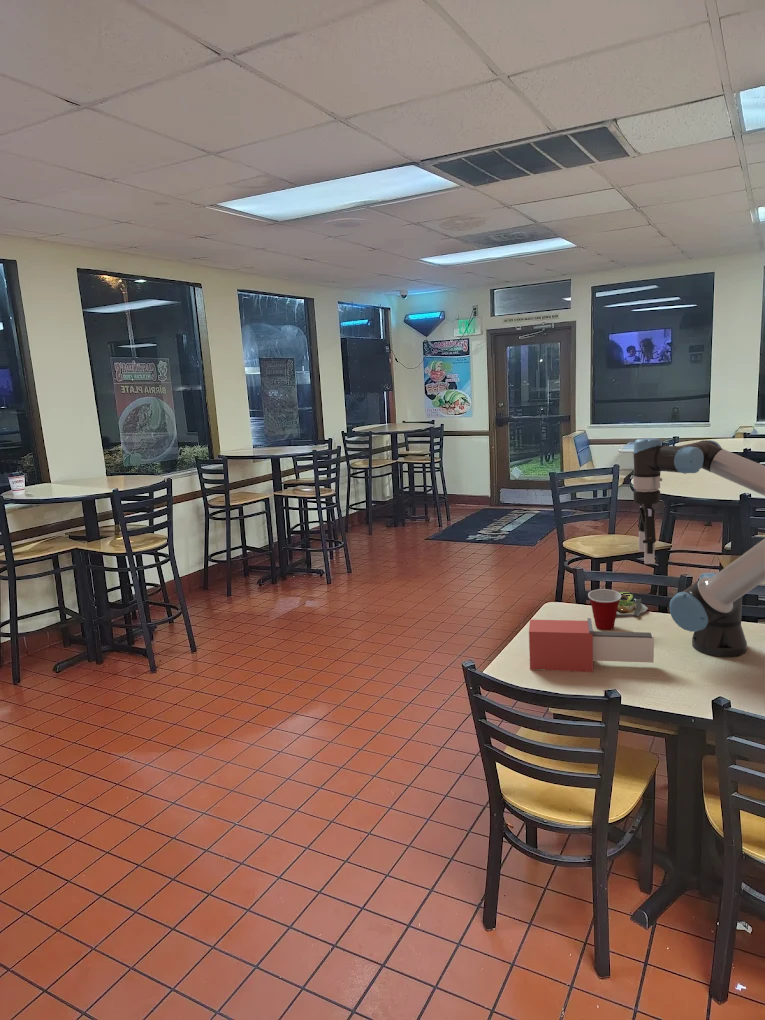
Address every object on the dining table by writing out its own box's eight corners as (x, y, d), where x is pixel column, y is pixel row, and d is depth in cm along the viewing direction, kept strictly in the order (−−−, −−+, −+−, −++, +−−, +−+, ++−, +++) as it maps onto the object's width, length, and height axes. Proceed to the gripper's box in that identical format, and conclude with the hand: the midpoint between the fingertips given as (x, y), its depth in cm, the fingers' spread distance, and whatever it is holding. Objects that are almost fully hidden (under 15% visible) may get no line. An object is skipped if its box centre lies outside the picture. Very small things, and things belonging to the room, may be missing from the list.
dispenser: (530, 669, 201) (528, 629, 199) (530, 655, 211) (529, 616, 209) (593, 672, 197) (592, 630, 194) (591, 657, 207) (590, 618, 204)
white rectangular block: (589, 660, 200) (588, 635, 198) (588, 656, 203) (588, 631, 201) (653, 662, 196) (653, 636, 194) (652, 658, 199) (652, 632, 197)
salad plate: (660, 618, 235) (660, 605, 234) (609, 622, 235) (609, 609, 234) (636, 600, 254) (636, 588, 253) (590, 604, 253) (590, 592, 253)
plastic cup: (588, 632, 226) (587, 598, 223) (588, 621, 236) (587, 588, 233) (622, 634, 222) (622, 599, 220) (620, 622, 233) (620, 589, 230)
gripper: (666, 496, 190) (665, 569, 195) (654, 482, 214) (653, 546, 218) (638, 497, 192) (638, 568, 196) (629, 483, 216) (628, 547, 220)
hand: (646, 557), depth 207 cm, fingers open, 13 cm apart
